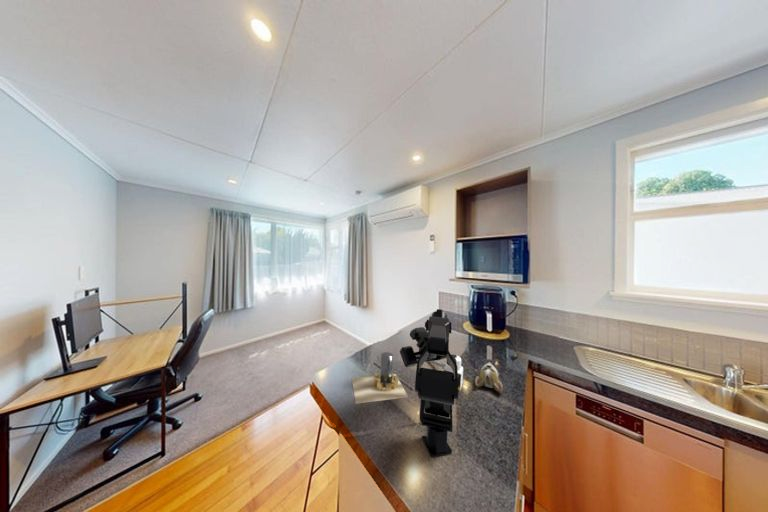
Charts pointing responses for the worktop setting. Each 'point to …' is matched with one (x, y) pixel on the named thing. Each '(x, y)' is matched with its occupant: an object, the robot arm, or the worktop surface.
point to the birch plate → (374, 391)
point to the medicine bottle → (459, 368)
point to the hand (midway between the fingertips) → (414, 362)
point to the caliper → (438, 364)
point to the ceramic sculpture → (489, 378)
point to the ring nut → (387, 385)
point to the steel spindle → (386, 368)
